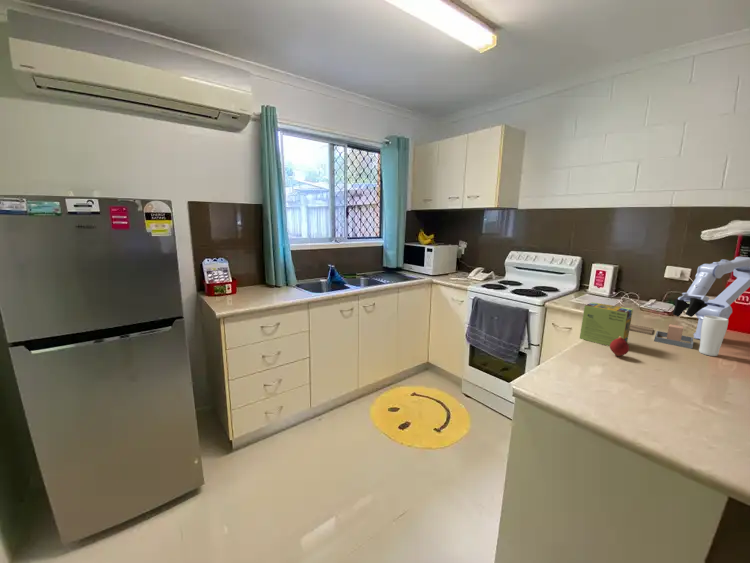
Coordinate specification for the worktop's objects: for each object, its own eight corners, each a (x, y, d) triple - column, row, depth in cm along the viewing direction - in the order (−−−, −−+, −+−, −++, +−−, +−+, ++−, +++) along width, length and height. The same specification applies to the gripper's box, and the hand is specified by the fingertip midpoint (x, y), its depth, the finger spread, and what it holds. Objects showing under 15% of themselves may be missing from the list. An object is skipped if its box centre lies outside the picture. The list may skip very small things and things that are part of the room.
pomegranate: (624, 354, 123) (628, 335, 122) (629, 360, 118) (633, 340, 117) (606, 352, 126) (610, 332, 124) (610, 357, 121) (613, 337, 119)
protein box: (621, 349, 129) (628, 312, 126) (579, 338, 140) (583, 305, 138) (627, 343, 136) (633, 308, 133) (586, 334, 147) (591, 301, 144)
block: (666, 339, 143) (669, 324, 142) (680, 341, 140) (683, 326, 139) (665, 341, 140) (668, 326, 138) (679, 344, 137) (683, 328, 135)
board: (627, 325, 162) (628, 323, 162) (653, 330, 155) (653, 328, 155) (624, 329, 155) (625, 327, 155) (651, 334, 148) (652, 333, 148)
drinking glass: (725, 358, 122) (734, 321, 120) (704, 356, 124) (712, 319, 121) (711, 351, 129) (719, 316, 126) (691, 350, 130) (699, 314, 127)
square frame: (656, 334, 148) (656, 330, 148) (692, 341, 140) (693, 337, 139) (654, 341, 140) (654, 336, 139) (692, 348, 131) (693, 344, 131)
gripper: (677, 285, 145) (661, 310, 146) (702, 282, 131) (684, 310, 131) (693, 293, 144) (677, 318, 144) (721, 291, 130) (702, 319, 130)
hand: (681, 315), depth 138 cm, fingers open, 7 cm apart
